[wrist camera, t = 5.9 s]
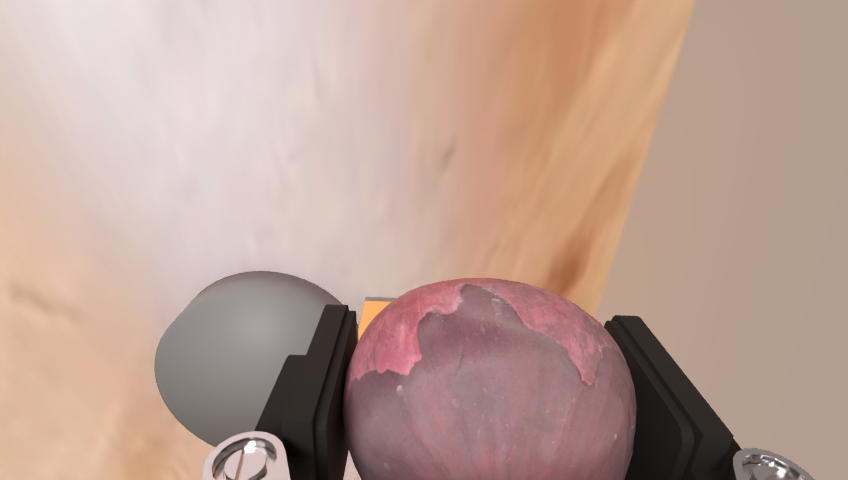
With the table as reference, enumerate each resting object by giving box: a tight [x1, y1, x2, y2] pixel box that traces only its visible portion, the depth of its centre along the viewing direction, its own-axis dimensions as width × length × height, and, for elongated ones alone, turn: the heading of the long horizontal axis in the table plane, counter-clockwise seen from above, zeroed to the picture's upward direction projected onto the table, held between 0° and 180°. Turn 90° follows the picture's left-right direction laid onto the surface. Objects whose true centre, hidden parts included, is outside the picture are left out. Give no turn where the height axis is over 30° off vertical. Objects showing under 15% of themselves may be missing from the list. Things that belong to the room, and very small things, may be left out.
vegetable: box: [342, 278, 637, 480], centre depth 9 cm, size 6×6×10 cm
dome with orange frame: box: [155, 271, 397, 447], centre depth 33 cm, size 14×24×4 cm, turn 88°
